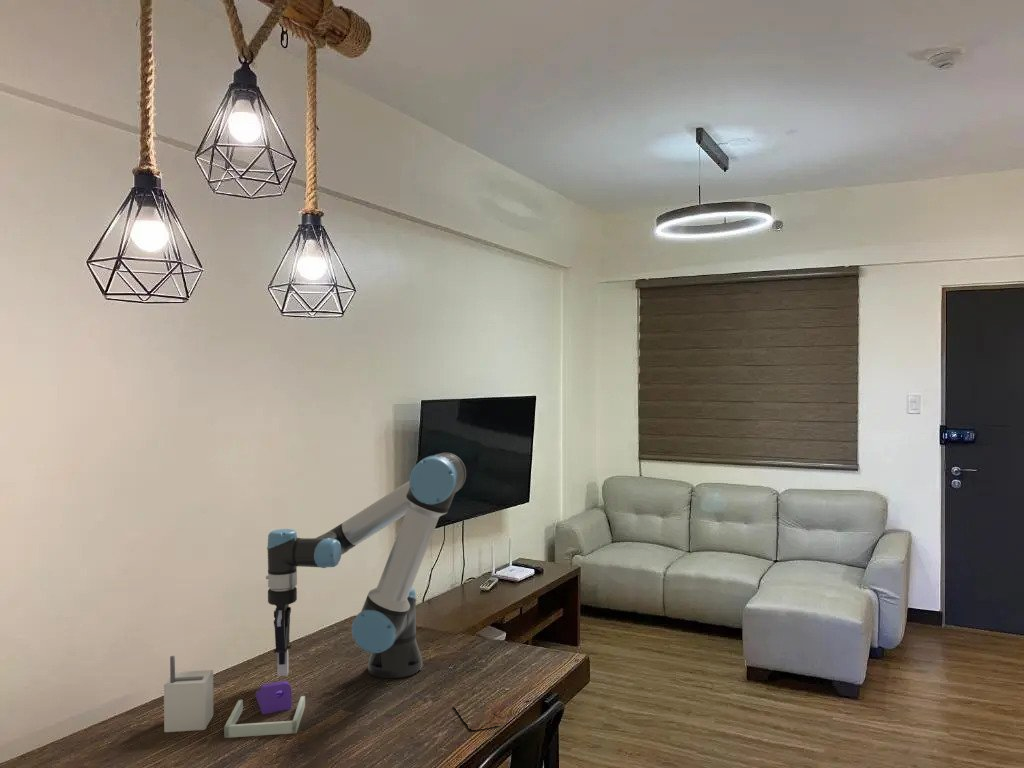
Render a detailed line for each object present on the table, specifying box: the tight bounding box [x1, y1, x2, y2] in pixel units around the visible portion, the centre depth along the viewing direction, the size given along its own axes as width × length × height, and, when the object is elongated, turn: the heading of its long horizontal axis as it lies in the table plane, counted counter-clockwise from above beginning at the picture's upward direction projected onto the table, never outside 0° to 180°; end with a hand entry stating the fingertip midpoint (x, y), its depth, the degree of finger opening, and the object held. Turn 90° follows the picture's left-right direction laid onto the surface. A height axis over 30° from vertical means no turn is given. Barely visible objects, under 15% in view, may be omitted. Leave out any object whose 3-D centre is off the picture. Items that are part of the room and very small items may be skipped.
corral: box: [223, 695, 306, 739], centre depth 183 cm, size 16×15×2 cm
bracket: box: [255, 680, 292, 715], centre depth 194 cm, size 12×7×7 cm, turn 26°
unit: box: [163, 655, 214, 733], centre depth 183 cm, size 9×8×17 cm
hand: (282, 674), depth 208 cm, fingers closed
